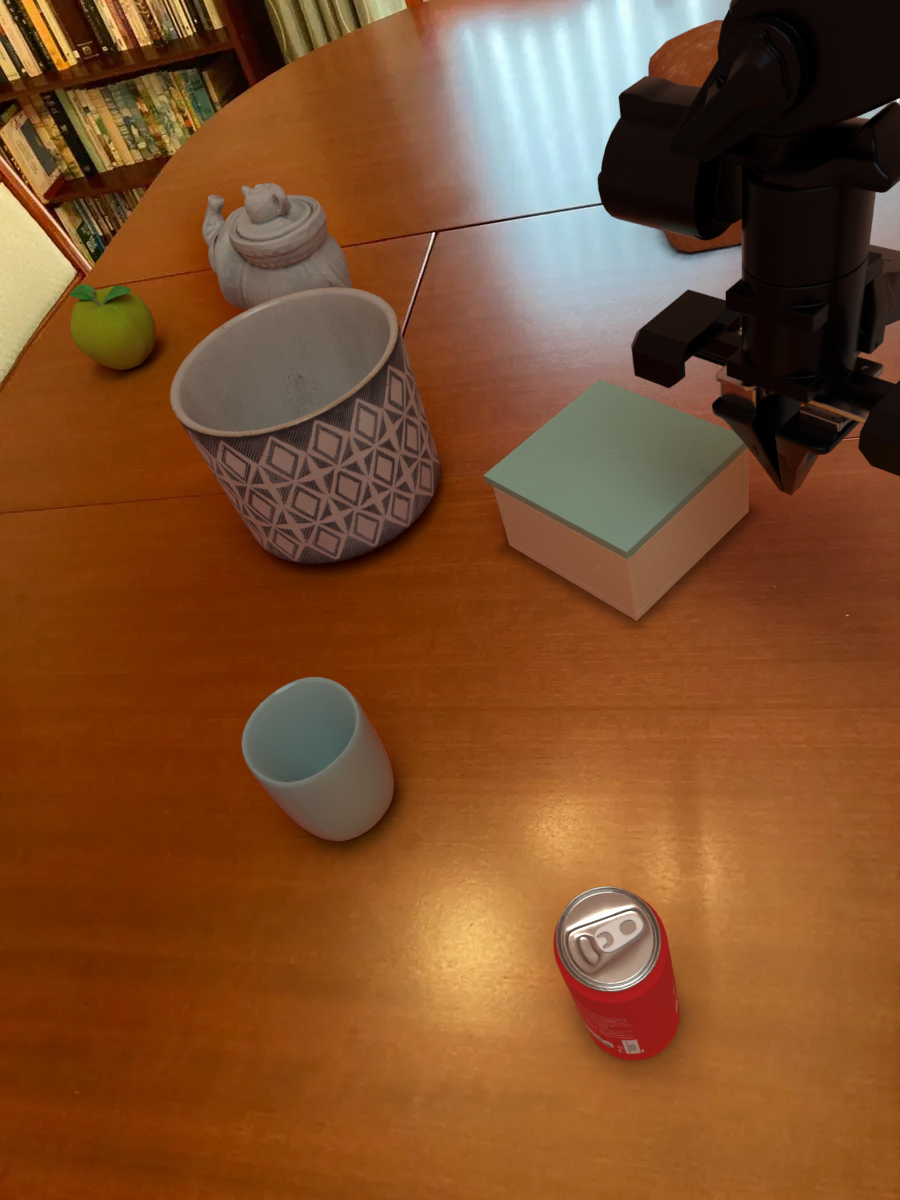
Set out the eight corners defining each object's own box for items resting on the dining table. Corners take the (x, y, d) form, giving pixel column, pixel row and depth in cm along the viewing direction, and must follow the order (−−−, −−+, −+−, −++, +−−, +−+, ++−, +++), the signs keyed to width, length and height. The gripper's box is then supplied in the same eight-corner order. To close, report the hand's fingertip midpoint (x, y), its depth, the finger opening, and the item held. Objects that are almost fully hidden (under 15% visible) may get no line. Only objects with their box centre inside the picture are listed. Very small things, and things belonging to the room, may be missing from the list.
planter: (481, 443, 83) (436, 287, 71) (394, 597, 73) (324, 445, 61) (314, 427, 91) (249, 285, 79) (215, 563, 81) (123, 424, 69)
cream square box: (509, 545, 74) (492, 486, 69) (616, 451, 78) (607, 389, 73) (636, 621, 65) (627, 560, 60) (749, 511, 69) (749, 446, 64)
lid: (485, 482, 69) (483, 475, 68) (600, 386, 73) (599, 378, 73) (627, 559, 60) (626, 552, 60) (749, 445, 64) (749, 437, 64)
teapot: (247, 321, 110) (176, 171, 96) (362, 283, 109) (306, 126, 95) (248, 395, 99) (168, 238, 85) (376, 354, 97) (316, 188, 84)
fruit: (129, 337, 115) (87, 267, 107) (182, 341, 110) (142, 269, 103) (85, 381, 110) (38, 311, 103) (138, 387, 106) (92, 315, 98)
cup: (341, 880, 58) (283, 810, 50) (279, 808, 63) (218, 735, 55) (429, 799, 60) (385, 721, 53) (362, 735, 65) (314, 655, 57)
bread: (778, 128, 108) (782, -10, 97) (837, 223, 92) (850, 70, 81) (637, 164, 111) (625, 34, 100) (671, 262, 95) (661, 119, 84)
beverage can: (568, 992, 50) (531, 913, 41) (648, 948, 50) (627, 861, 42) (615, 1084, 46) (585, 1019, 38) (700, 1036, 47) (690, 961, 38)
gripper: (1099, 206, 39) (1018, 467, 51) (740, 147, 50) (740, 371, 62) (965, 342, 36) (910, 588, 47) (612, 245, 47) (637, 463, 59)
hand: (790, 489), depth 54 cm, fingers closed
